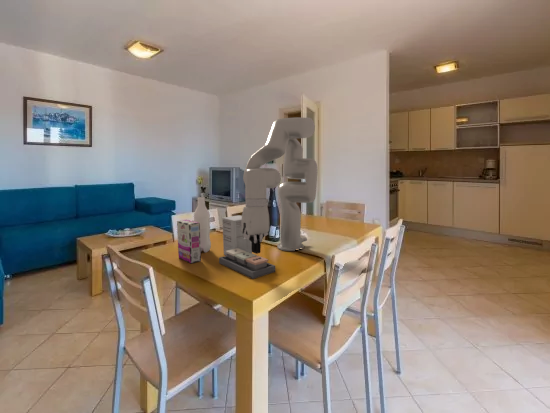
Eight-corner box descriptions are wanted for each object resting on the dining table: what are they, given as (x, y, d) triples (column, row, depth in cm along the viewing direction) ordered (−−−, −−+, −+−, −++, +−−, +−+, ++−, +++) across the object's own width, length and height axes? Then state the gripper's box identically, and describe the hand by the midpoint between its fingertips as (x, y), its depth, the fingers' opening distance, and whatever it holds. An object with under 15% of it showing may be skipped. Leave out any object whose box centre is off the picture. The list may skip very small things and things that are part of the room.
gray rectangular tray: (240, 257, 130) (240, 252, 130) (275, 271, 113) (275, 265, 113) (219, 263, 123) (219, 257, 123) (252, 279, 106) (252, 272, 106)
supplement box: (240, 250, 141) (239, 214, 139) (252, 254, 135) (252, 217, 132) (222, 254, 135) (221, 217, 132) (235, 259, 128) (234, 220, 126)
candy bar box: (201, 261, 126) (200, 222, 124) (191, 264, 123) (189, 224, 120) (188, 255, 134) (186, 219, 132) (178, 257, 130) (176, 220, 128)
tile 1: (237, 254, 127) (237, 247, 127) (246, 257, 123) (246, 250, 122) (225, 257, 123) (225, 250, 123) (233, 260, 119) (233, 253, 118)
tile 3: (258, 262, 117) (258, 255, 116) (268, 266, 112) (268, 258, 112) (245, 265, 113) (245, 258, 113) (255, 269, 108) (255, 262, 108)
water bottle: (207, 253, 136) (205, 198, 132) (192, 253, 137) (189, 198, 134) (213, 249, 143) (211, 196, 139) (199, 248, 144) (197, 196, 141)
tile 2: (247, 258, 122) (247, 251, 122) (256, 261, 118) (256, 254, 117) (235, 261, 118) (235, 254, 118) (244, 265, 114) (244, 257, 113)
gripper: (265, 200, 117) (265, 247, 119) (232, 203, 107) (233, 254, 109) (278, 202, 111) (277, 251, 113) (245, 205, 101) (245, 258, 104)
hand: (256, 252), depth 111 cm, fingers closed
